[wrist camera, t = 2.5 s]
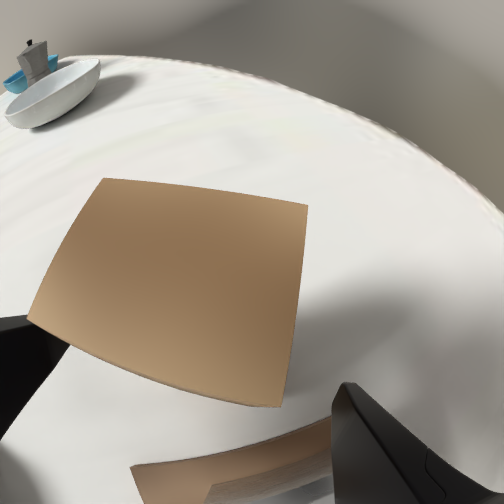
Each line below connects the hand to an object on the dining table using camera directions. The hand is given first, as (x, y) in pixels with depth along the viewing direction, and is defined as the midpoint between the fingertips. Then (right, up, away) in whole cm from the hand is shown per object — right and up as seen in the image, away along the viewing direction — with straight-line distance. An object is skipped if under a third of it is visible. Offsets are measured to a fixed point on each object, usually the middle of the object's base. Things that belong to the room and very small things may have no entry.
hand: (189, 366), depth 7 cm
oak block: (0, -4, +8) cm, 9 cm away
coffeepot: (-54, +46, +38) cm, 80 cm away
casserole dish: (-84, +69, +52) cm, 121 cm away
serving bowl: (-35, +30, +29) cm, 55 cm away
